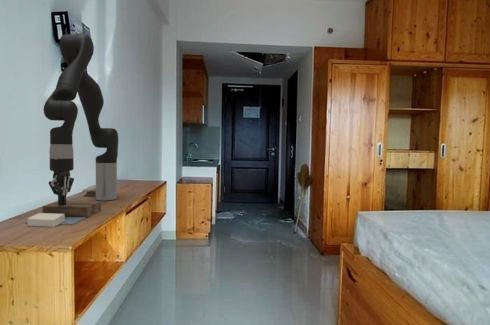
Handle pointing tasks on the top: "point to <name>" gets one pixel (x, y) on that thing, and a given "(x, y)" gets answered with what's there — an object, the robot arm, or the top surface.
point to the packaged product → (90, 190)
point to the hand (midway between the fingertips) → (62, 205)
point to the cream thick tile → (46, 219)
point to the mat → (70, 220)
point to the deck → (74, 208)
